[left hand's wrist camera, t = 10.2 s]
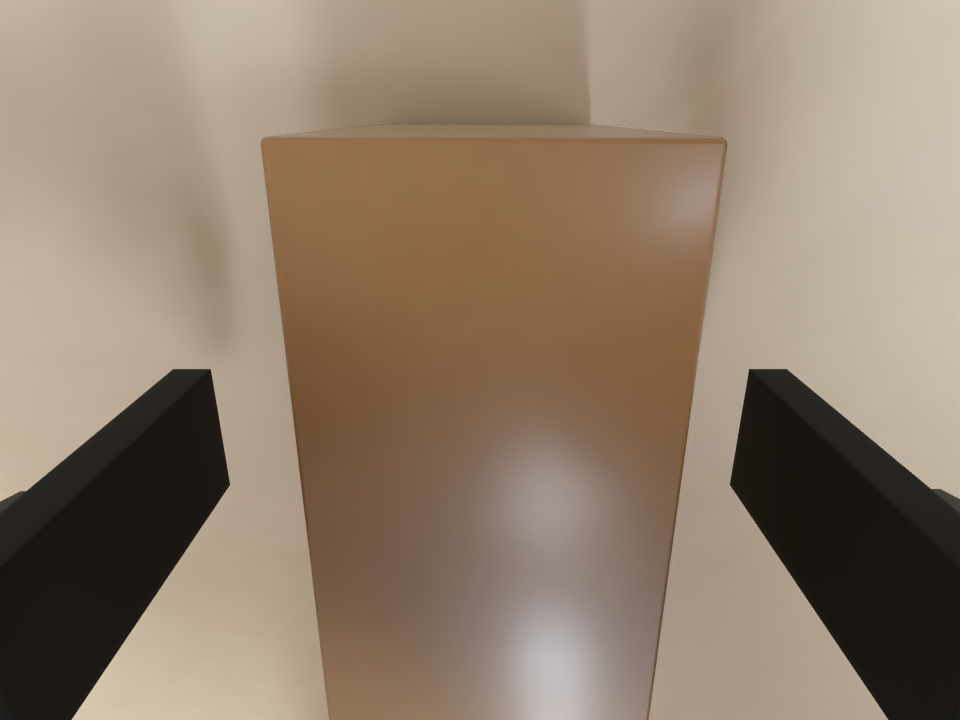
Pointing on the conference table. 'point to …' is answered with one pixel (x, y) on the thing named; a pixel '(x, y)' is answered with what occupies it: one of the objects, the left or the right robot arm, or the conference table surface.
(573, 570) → the beam
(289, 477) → the conference table surface
